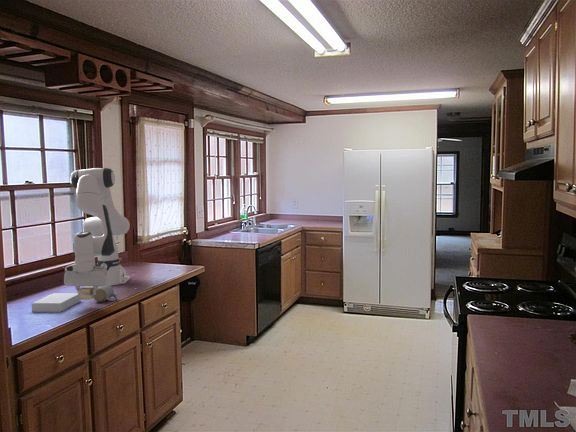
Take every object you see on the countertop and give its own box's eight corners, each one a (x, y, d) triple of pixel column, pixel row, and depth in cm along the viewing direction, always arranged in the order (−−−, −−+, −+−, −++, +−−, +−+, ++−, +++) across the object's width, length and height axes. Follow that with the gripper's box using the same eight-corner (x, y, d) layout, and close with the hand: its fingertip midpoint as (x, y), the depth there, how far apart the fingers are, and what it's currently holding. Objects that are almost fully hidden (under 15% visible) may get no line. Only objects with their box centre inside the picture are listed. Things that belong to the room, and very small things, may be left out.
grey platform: (53, 300, 239) (53, 293, 238) (80, 301, 238) (80, 293, 237) (32, 311, 221) (31, 303, 220) (61, 311, 220) (60, 303, 219)
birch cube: (84, 296, 229) (84, 286, 228) (94, 296, 229) (94, 286, 228) (79, 299, 224) (79, 289, 223) (89, 299, 224) (89, 289, 223)
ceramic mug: (92, 302, 235) (91, 287, 234) (100, 298, 243) (99, 283, 242) (112, 303, 234) (112, 287, 233) (120, 298, 242) (119, 283, 241)
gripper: (109, 264, 227) (111, 293, 229) (68, 264, 228) (70, 292, 230) (103, 267, 221) (105, 296, 222) (61, 267, 222) (63, 296, 224)
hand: (87, 294), depth 226 cm, fingers closed on birch cube, 5 cm apart
